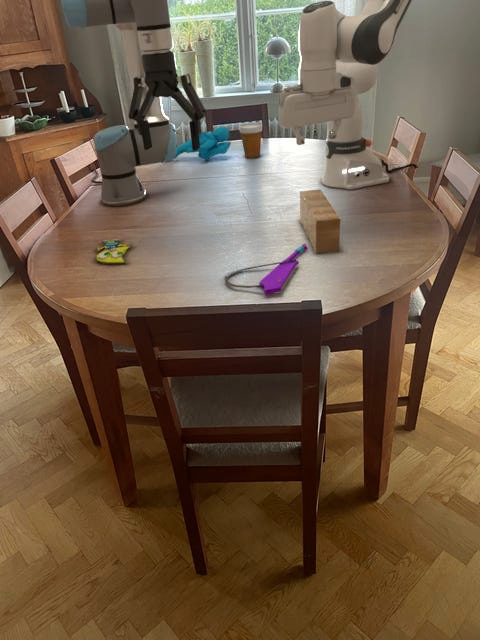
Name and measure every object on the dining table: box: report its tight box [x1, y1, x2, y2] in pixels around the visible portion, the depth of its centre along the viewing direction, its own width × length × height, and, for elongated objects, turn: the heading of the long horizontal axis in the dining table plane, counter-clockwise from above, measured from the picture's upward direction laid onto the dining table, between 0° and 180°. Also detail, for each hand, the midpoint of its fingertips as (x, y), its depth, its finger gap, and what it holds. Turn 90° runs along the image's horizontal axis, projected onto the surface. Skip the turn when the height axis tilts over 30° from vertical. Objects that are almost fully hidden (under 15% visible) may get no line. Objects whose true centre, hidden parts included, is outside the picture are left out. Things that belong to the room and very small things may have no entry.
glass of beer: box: [239, 123, 263, 159], centre depth 199 cm, size 10×10×12 cm
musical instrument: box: [224, 243, 308, 296], centre depth 113 cm, size 24×2×20 cm
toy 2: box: [173, 126, 232, 161], centre depth 202 cm, size 17×11×30 cm
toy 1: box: [95, 238, 133, 265], centre depth 129 cm, size 10×1×15 cm
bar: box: [299, 188, 341, 255], centre depth 126 cm, size 23×6×9 cm, turn 4°
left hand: (172, 149), depth 120 cm, fingers open, 13 cm apart
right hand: (316, 141), depth 124 cm, fingers open, 8 cm apart
